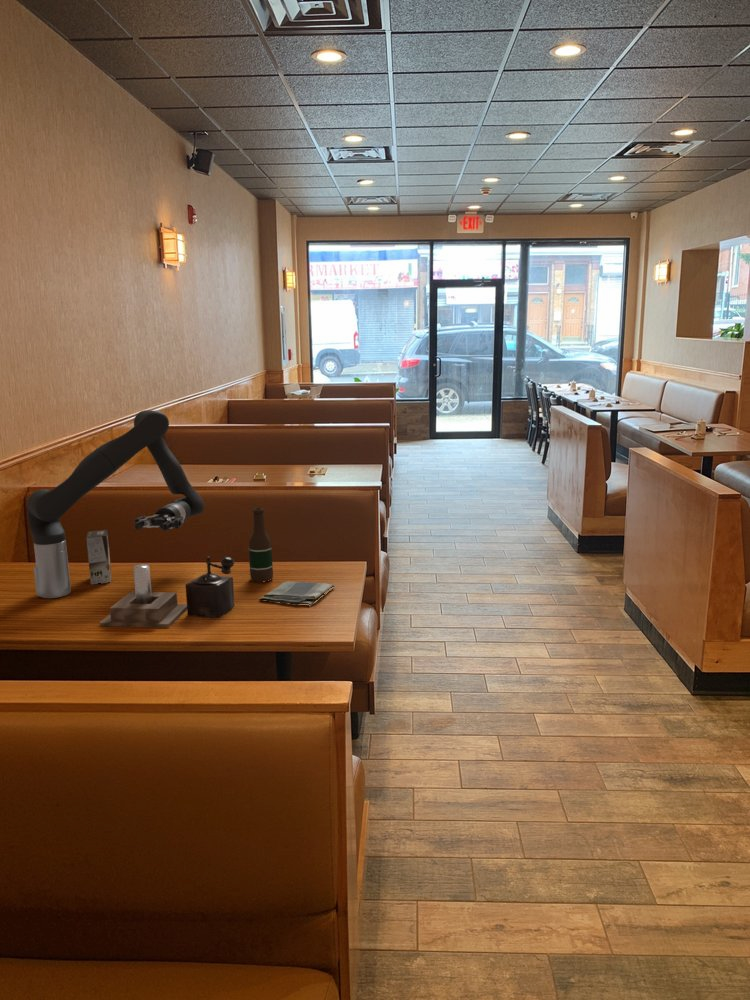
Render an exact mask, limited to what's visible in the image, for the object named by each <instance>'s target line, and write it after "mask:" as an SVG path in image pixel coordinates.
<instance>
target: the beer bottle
mask: <svg viewBox="0 0 750 1000" xmlns="http://www.w3.org/2000/svg"><path fill="white" fill-rule="evenodd" d="M252 513H253V531H252V533H251V535H250V537H249V540H248V558H249V559H248V560H249V561H248V562H249V576H250V581H251V582H252V581H256V582H263V581H268V580H270V579H272V578H273V579H274V569H273V565H274V564H273V548H272V542H271V539H270V536H269V534H267V530H266V527H265V526H266V525H265V517H264V513H265V510H264V508H262V507H255V508H253V509H252ZM256 582H255V583H256Z"/></svg>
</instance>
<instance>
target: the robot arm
mask: <svg viewBox="0 0 750 1000" xmlns="http://www.w3.org/2000/svg"><path fill="white" fill-rule="evenodd" d="M169 426H170V421H169V418H168V417H167V415H166V414H165V413H163V412H162V411H159V410H150V409H148V410H141V411H138V413H137V414H136V415H135V417H134V419H133V427H132V428H131V429H129V430H128V431H127V432H125V433H123V434H122V435H120V436H118V437H115V438H114V439H112V440H109V441H107V442H105V443H104V444H102V445H100V446H98V447H97V448H96V449H94V450H93V451H91V452H90V453H89V454H88V455H86V456H85V457H84V458H83V459H82V460H81V461H80V463H78V465H77V466H76V468H74V470H73V471H72V472H71V474H70V475H69V476H68V477H67V479H65V480H64V481H63V482H61V483H59V484H58V485H56V486H55V487H54V488H52V489H51V490H50V489H44V488H41V489H37V490H35V491H33V492H32V493H31V494H30V495H29V497H28V498H27V503H26V505H27V506H26V509H27V517H28V518H27V519H28V524H29V525H28V526H29V531H30V533H31V534H30V535H31V536H32V538H33V539H32V540H33V548H34V549H33V550H34V556H35V557H34V559H35V566H33V575H34V584H35V593H36V597H40V598H43V599H57V598H61V597H65V596H68V595H69V594H71V592H72V589H71V587H72V585H71V578H70V567H69V560H68V559H69V558H68V551H67V549H68V548H67V541H66V539H67V538H66V532H65V530H64V528H63V526H62V523H61V518H62V516H64V515H65V514H66V513H67V512H68V511H69V510H70V509H71V507H73V506H74V505H75V504H76V503H77V502H78V501H79V500H80V499H82V498H83V497H84V496H85V495H87V494H88V493H89V492H91V491H92V490H94V489H95V488H96V487H97V486H99V485H100V484H101V483H103V482H104V481H105V480H106V479H107V480H108V478H109V477H111V476H112V475H113V474H114V473H116V472H118V470H119V469H120V468H121V467H123V466H124V465H125V464H127V462H129V461H130V460H131V459H132V458H133V457H135V456H136V455H137V454H138V453H140V452H141V451H142V450H143V449H144V448H147V449H148V451H149V453H150V454H151V456H152V458H153V460H154V461H155V462H156V465H157V466H158V469H159V471H160V473H161V475H162V478H163V480H164V481H165V483H166V485H167V488H168V491H169V492H170V494H172V495H183V496H184V497H183V496H182V497H179V498H178V499H177V498H176V499H174V501H173V502H172V503H168V504H166V505H164V506H163V507H161V508H159V509H157V510H156V511H155V513H154V514H153V515H149V516H146V515H141V516H139V517H137V518H134V529H135V530H136V531H137V530H138V531H140V530H141V529H143V528H147V529H152V528H159V529H160V530H162V531H164V532H166V531H169V530H173V529H179V528H181V527H183V526H184V523H185V521H186V520H187V519H188V518H190V517H192V516H197V515H200V514H202V513H203V512H204V510H205V501H204V500H203V498H202V496H201V495H200V494H199V493H198V491H197V490H196V489H195V488H194V487H193V486H192V484H191V483H190V482H189V479H188V477H187V476H186V472H185V471H184V469H183V467H182V465H181V464H180V462H179V460H178V459H177V458H176V457H175V455H174V454H173V453H172V451H171V450H170V448H169V446H168V444H167V443H166V441H165V439H164V436H165V434H166V433H167V432H168V430H169Z"/></svg>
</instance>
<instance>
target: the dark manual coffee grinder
mask: <svg viewBox="0 0 750 1000" xmlns="http://www.w3.org/2000/svg"><path fill="white" fill-rule="evenodd" d="M205 559H206V561H205V564H206V568H207V570H206V571H207V573H204V574H202V575H200V576H197V577H195V578H193V579H192V580H191V581H188V582H187V583H185V596H186V597H185V598H186V604H187V610H186V611H187V615H186V616H192V617H198V618H220V617H223V616H224V615H226V614H227V613H229V612H230V611H232V609H234V608H235V593H234V589H235V588H234V577H232V576H224V575H229V574H231V573H232V570H231V568H232V567H233V566H234V565H235V560H234V558H232V557H231V556H224V557H223V558H221V559H220V564H218V563H217V564H216V563H214V562H212V561H211V559H212V558H211V557H210V556H209V555H208V556H206V557H205ZM211 566H212V567H213V568H217V569H221V571H220V572H221V573H222V574H224V575H223V576H222V575H219V574H216V573H213V572H212V571H211ZM233 607H234V608H233ZM228 611H229V612H228Z"/></svg>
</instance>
